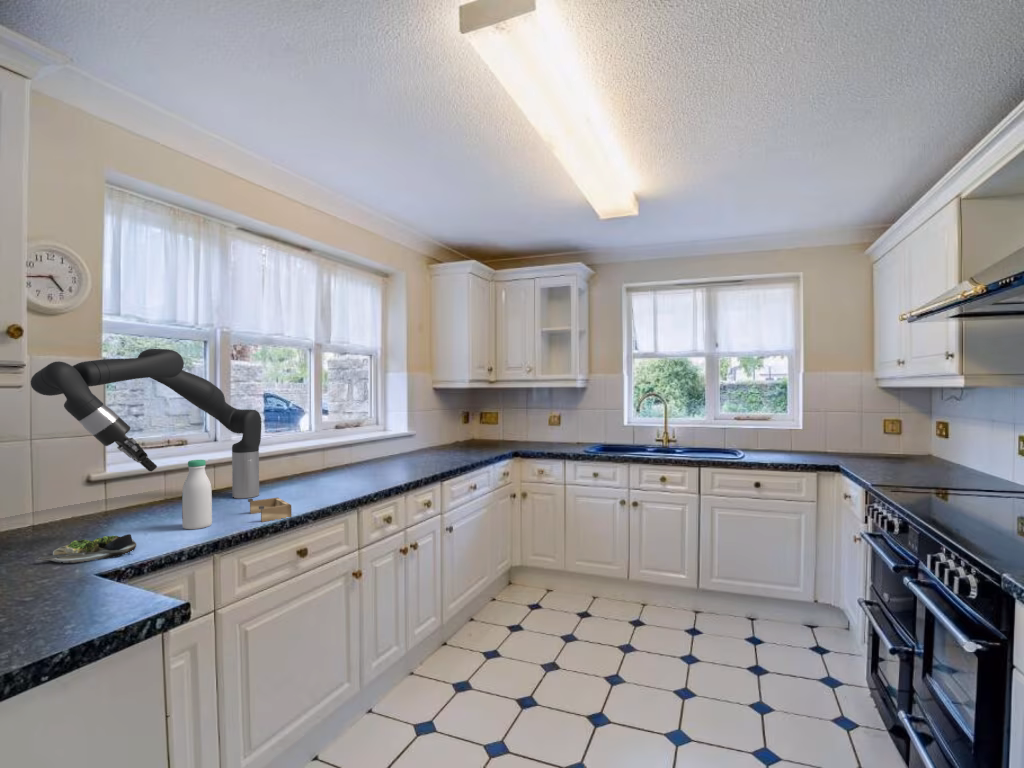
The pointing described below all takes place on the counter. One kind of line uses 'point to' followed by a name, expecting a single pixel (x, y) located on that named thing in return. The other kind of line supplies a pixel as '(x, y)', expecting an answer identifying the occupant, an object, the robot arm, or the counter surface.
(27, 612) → the counter surface
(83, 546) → the salad plate
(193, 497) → the milk bottle
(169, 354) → the robot arm
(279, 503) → the light brown wooden box
